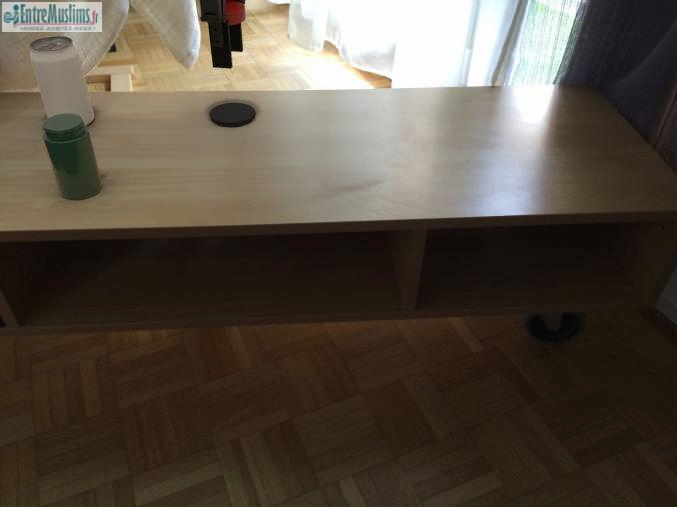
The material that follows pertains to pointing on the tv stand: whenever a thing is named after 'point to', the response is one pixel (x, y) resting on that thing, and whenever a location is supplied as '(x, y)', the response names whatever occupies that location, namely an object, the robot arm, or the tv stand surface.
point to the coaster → (232, 114)
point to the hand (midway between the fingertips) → (228, 58)
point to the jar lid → (235, 12)
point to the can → (60, 77)
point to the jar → (72, 156)
